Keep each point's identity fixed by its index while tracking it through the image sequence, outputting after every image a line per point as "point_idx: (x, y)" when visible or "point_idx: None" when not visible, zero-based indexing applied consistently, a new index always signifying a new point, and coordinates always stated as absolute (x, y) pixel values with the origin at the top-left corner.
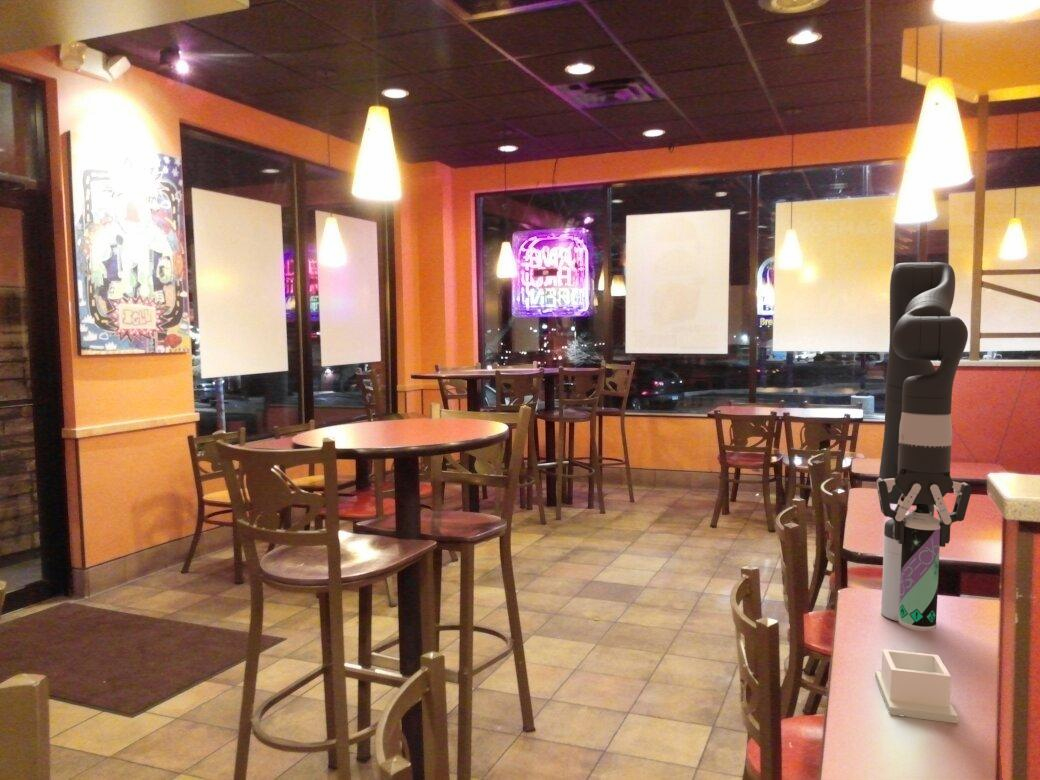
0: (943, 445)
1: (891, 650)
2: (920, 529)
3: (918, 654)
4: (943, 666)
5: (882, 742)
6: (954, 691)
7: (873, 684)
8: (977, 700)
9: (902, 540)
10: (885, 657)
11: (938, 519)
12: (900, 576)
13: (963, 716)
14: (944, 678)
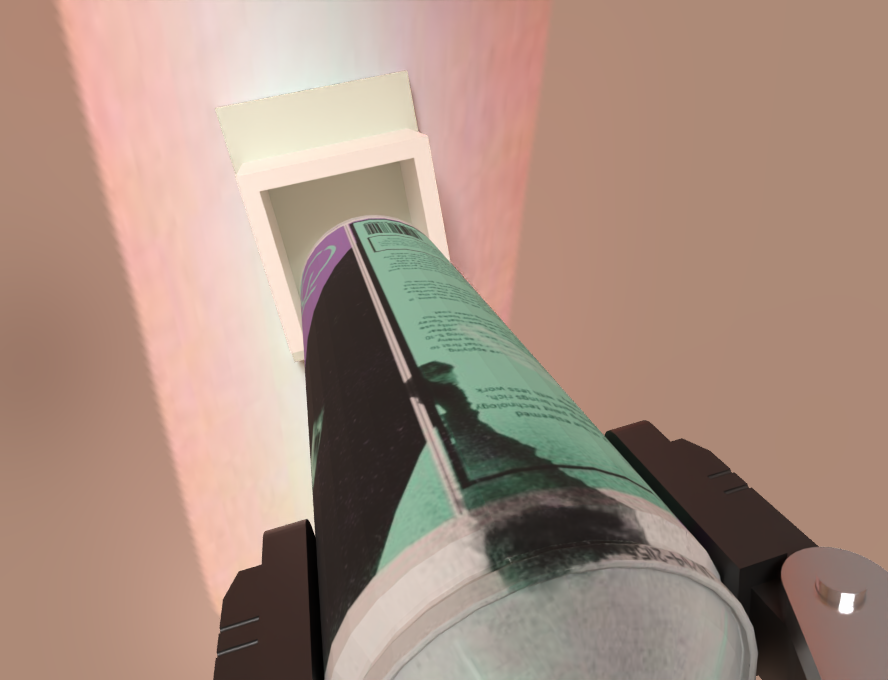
0: None
1: (269, 174)
2: None
3: (363, 166)
4: (441, 239)
5: (297, 489)
6: (452, 101)
7: (223, 172)
8: (507, 138)
9: None
10: (257, 247)
11: (752, 644)
12: (306, 393)
13: (464, 265)
14: None
